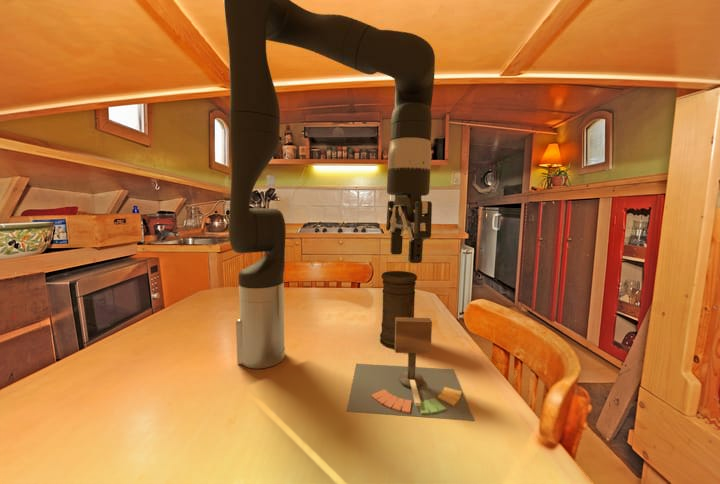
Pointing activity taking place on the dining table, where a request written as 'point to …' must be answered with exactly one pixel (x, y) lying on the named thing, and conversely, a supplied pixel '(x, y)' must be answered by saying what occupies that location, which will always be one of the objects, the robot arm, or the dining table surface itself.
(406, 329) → the peg knob
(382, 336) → the container
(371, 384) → the dial board
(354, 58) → the robot arm
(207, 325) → the dining table surface
